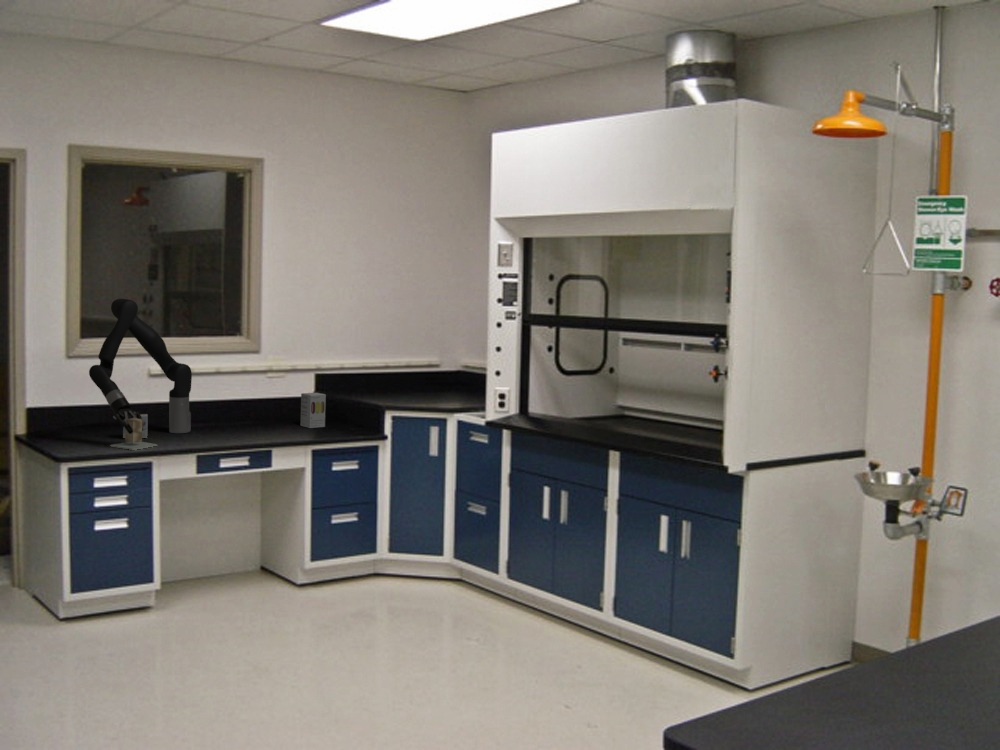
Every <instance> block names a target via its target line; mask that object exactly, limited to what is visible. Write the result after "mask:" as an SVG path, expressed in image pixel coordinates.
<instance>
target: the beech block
mask: <svg viewBox="0 0 1000 750" xmlns="http://www.w3.org/2000/svg"><path fill="white" fill-rule="evenodd" d="M127 421H128V423H129V424H128V425H130V426H131V428H132V430H133V432H132V433H131V434H129V433H128V432H127V430H126V428H125V439H124V441H125V442H130V443H137V442H143V439H142V419H135V418H132V419H128V420H127ZM125 442H124V443H125Z"/></svg>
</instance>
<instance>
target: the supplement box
mask: <svg viewBox="0 0 1000 750" xmlns="http://www.w3.org/2000/svg"><path fill="white" fill-rule="evenodd" d="M300 395H301V396H300V426H301V427H304V428H309V429H314V428H325V427H326V404H327V403H326V399H327V398H326V397H327V395H326V394H325V393H320V392H308V393H307V392H305V393H304V392H302V393H301V394H300Z"/></svg>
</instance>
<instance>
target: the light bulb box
mask: <svg viewBox="0 0 1000 750" xmlns="http://www.w3.org/2000/svg"><path fill="white" fill-rule="evenodd" d="M140 415H141V417H142V420H143V421H142V427H143V431H142V438H147V439H148V437H147V436H149V435H148V434H149V433H148V429H149V428H148V425H149V424H148V419H149V418H148V417H149V415H148V414H147V413H140ZM123 438H125V428H124V427H123V426H122V439H123Z"/></svg>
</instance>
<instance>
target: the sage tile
mask: <svg viewBox="0 0 1000 750" xmlns="http://www.w3.org/2000/svg"><path fill="white" fill-rule="evenodd" d="M110 446H111V447H110ZM153 446H157V447H158V443H157V444H156V443H150V442H146V441H145V442H144V441H142V442H137V443H130V442H121V443H113V444H110V445H109V447H110V448H112V447H117V448H116V449H118V448H123V449H122V450H124V449H129V450H128V451H130V450H135V451H138V450H137V449H141V450H144V449H143V448H147V449H149V448H148V447H152V448H154V447H153Z"/></svg>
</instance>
